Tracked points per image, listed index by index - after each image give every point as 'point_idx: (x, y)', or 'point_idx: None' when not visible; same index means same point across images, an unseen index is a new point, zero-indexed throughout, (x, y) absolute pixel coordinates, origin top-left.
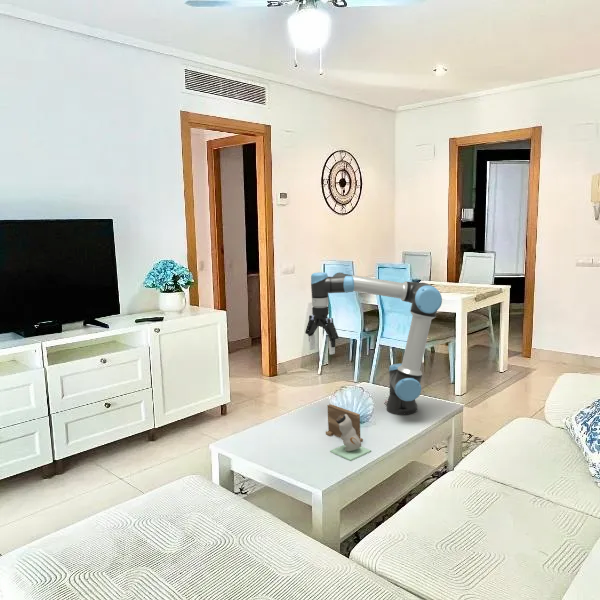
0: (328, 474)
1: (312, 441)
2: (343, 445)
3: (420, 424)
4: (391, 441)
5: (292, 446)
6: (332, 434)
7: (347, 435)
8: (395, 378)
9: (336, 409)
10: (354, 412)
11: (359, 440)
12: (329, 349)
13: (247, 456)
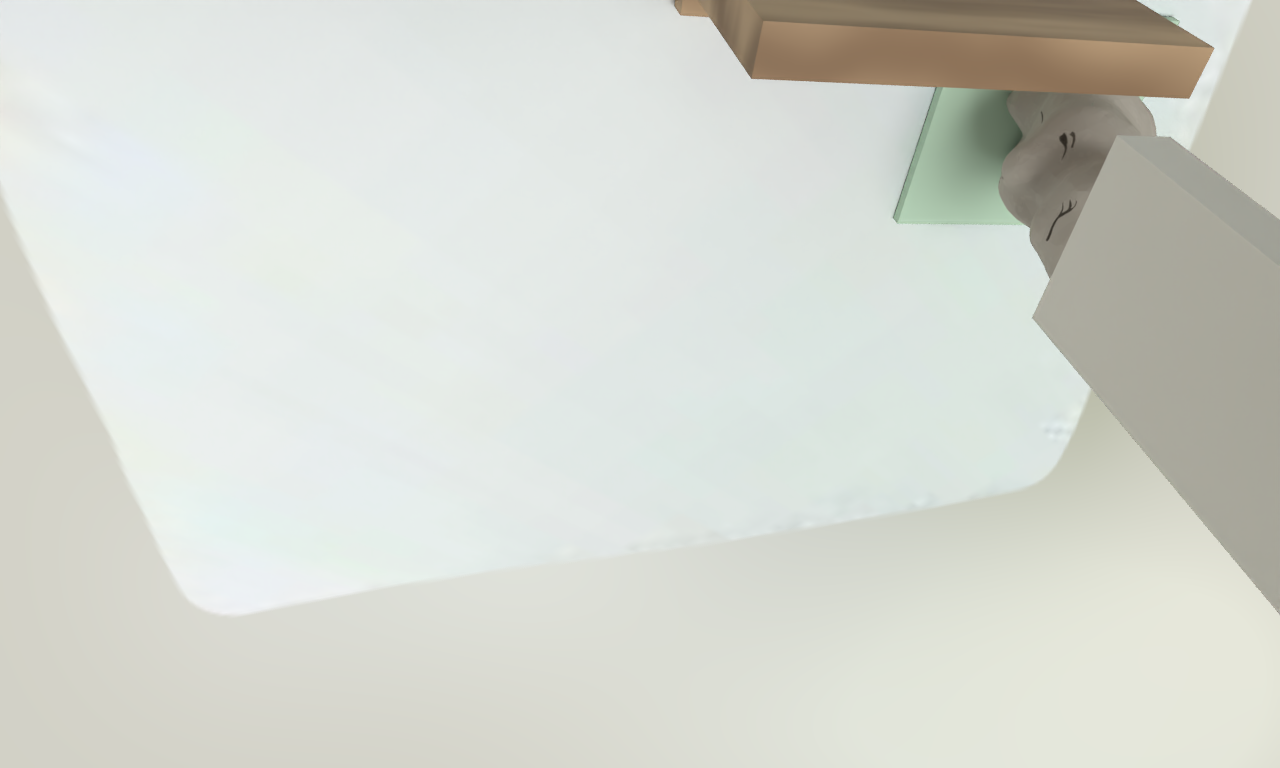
0: (1019, 394)
1: (671, 184)
2: (945, 98)
3: None
4: None
5: (609, 329)
6: None
7: None
8: None
9: (900, 81)
10: (1145, 45)
11: (1152, 131)
12: (1133, 428)
13: (496, 555)
